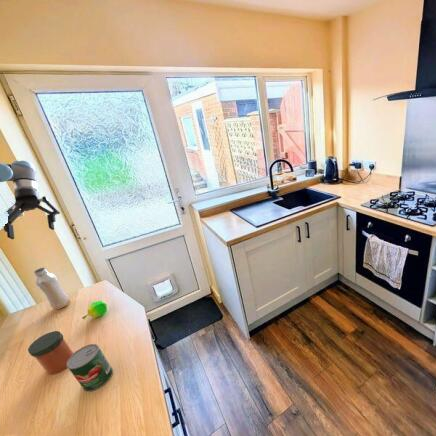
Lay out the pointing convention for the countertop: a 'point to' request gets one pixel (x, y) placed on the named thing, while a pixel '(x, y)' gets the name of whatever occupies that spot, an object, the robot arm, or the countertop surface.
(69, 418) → the countertop surface
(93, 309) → the apple
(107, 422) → the countertop surface
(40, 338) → the jar lid
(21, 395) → the countertop surface
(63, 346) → the jam jar
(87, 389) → the canned tomato
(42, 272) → the plastic bottle
